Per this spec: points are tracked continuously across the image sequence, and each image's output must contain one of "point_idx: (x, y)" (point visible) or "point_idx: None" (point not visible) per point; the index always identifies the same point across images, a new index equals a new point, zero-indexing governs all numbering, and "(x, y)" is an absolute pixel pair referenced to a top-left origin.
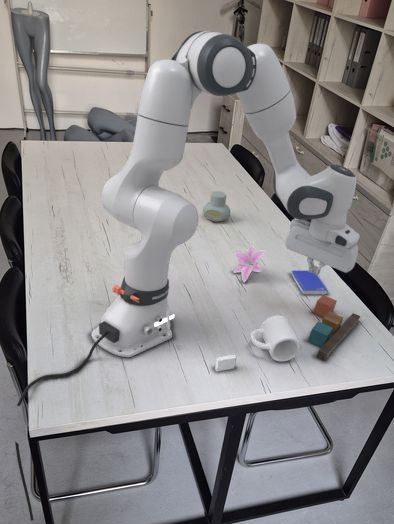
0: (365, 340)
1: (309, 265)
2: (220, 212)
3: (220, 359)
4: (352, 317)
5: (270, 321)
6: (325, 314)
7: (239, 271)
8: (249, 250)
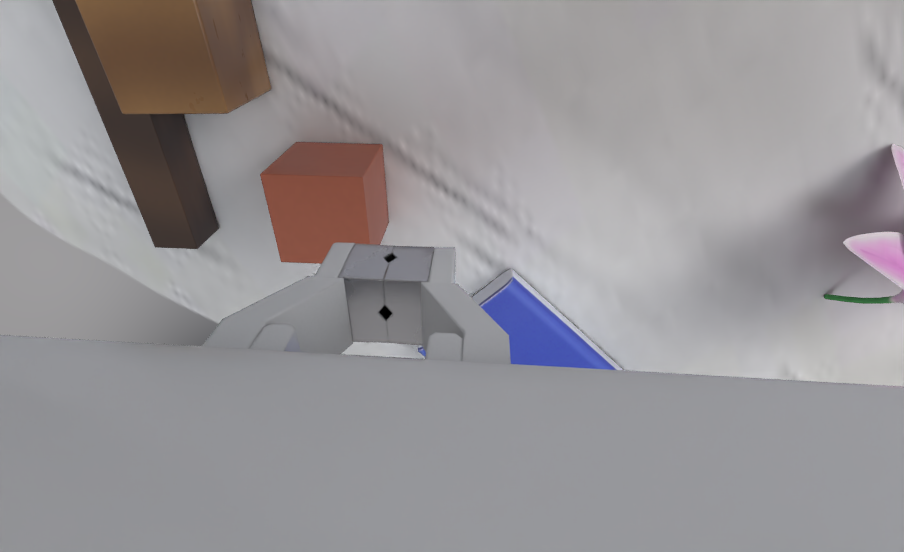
0: (39, 102)
1: (450, 292)
2: None
3: None
4: (166, 207)
5: None
6: (301, 150)
7: None
8: None
